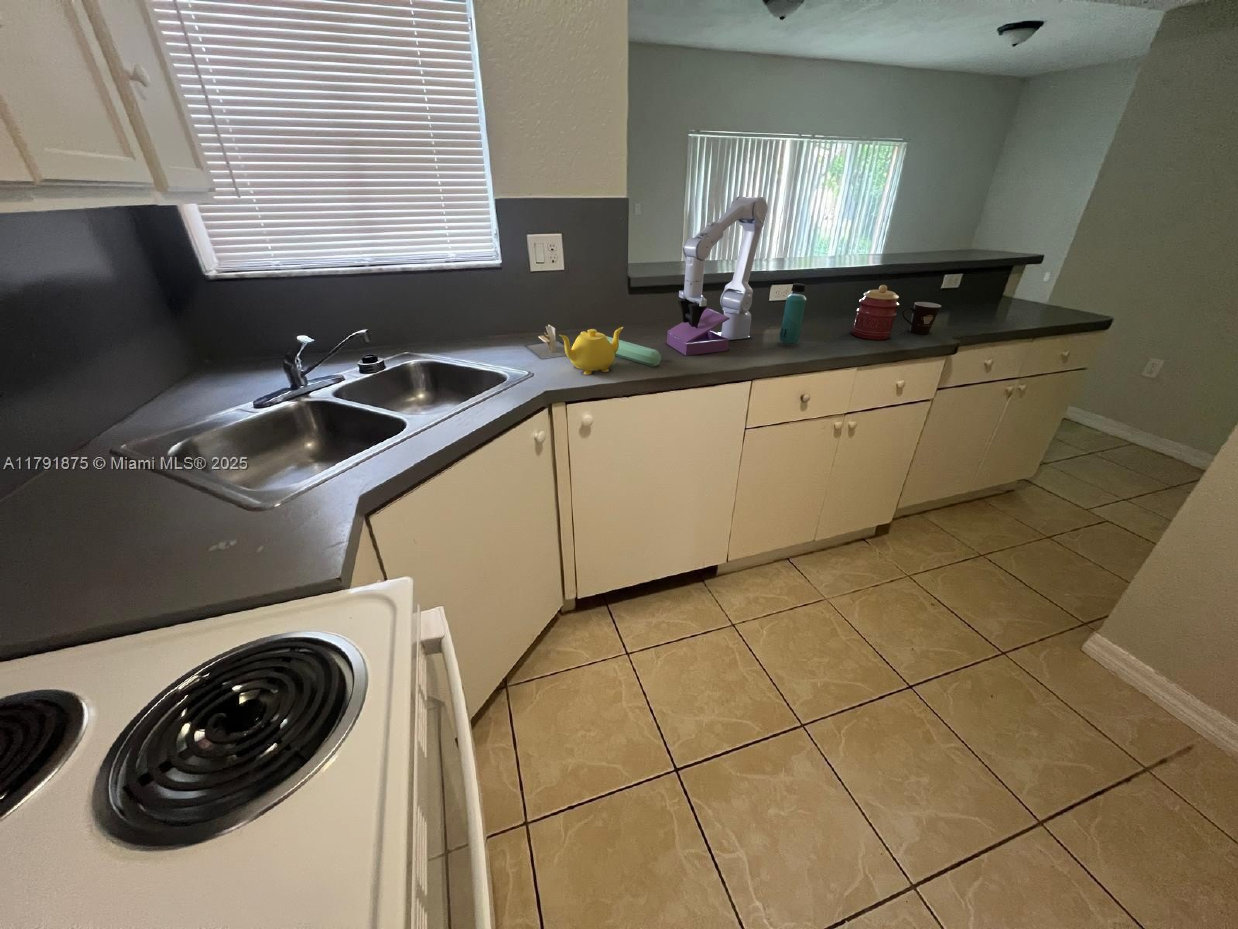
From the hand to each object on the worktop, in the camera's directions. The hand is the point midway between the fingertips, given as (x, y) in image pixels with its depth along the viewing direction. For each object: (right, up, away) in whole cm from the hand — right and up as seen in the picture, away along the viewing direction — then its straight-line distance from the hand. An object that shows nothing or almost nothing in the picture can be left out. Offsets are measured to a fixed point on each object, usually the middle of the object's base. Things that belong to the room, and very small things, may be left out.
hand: (690, 324), depth 158 cm
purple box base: (+3, -6, +5) cm, 9 cm away
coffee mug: (+89, +5, +26) cm, 93 cm away
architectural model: (-46, -8, 0) cm, 46 cm away
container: (-21, -13, -6) cm, 25 cm away
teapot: (-31, -17, -14) cm, 38 cm away
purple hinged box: (+3, 0, +1) cm, 3 cm away
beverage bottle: (+35, -5, +9) cm, 36 cm away
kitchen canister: (+69, +2, +20) cm, 72 cm away
